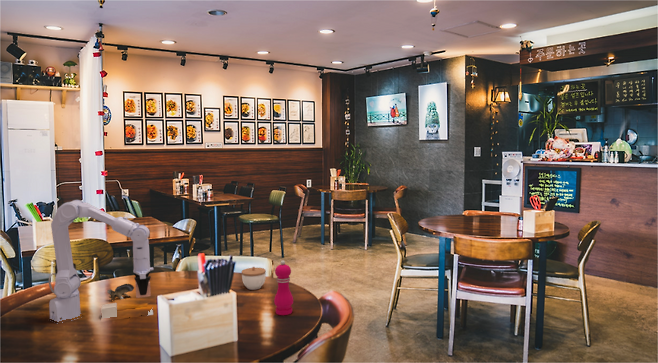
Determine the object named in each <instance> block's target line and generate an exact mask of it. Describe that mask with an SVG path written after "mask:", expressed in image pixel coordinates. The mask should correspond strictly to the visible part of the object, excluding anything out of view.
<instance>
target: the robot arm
mask: <svg viewBox="0 0 658 363" xmlns="http://www.w3.org/2000/svg"><path fill="white" fill-rule="evenodd" d="M78 218H79V219H81V218H82V219H84V218H92V219H95V220H97V221H99V222H101V223H104V224H106V225H109V226H110V227H111V229H112V231H114V232H116V233H118V234H121V235H123V236H125V237H127V238H130V240H131V241H132V254H133V257H132V259H133V260H132V262H133V270H132V271H133V272H132V273H134V274H133V276H134V281H136V283H137V285H138V288H139V292H140V295H146V294H147V288H148V283H149V280H150V281H151V278H152V276H150V273H151V271H154V267H153V266H152V267H151V262H150V260H151V259H150V245H149V244H150V243H149V242H150V241H149V237H150V234H151V233H150V229H149V227H147V226H146V225H145V224H140V223H138V222H134V221H132V220H129V219H128V217H127V216H117V217H115V216H113V215H111V214H110V213H107V212H105V211H103V210H102V209H100V208H97V207H95V206H94V205H92V204H90V203H88V202H85V201H82V200H80V199H73V200H72V201H67V202H64V203H62V204H61V205H60V206H59V207H57V209H56V213H55V214H54V217H53V218H52V221H51V223H50V227H51V234H52V241H53V249H54V253H55V254H54V255H55V261H56V266H57V270H58V272H57V275H56V277H55V278H54V281H56V284H54V287H53V291H54V292H55V294H56V295H57V297H56V295H55V294H54V295H55V298H51V299H50V300H49V304H48V305H49V306H48V308H49V319H52V320H54V321H57V322H59V321H62V320H66V319H72V318H75V317H78V316H80V314H81V300H80V298H81V297H80V291H79V288H80V287H81V285H82V284H81V283H82V281H81V278H80V276H79V275H78V272H77V269H76V270H75V269H74V266H73V263H74V260H73V254H72V246H71V245H72V244H71V238H70V232H69V226H70V225H71V224H72V223H73V222H74V221H75V220H76V219H78ZM136 283H135V284H136ZM60 318H61V319H60Z"/></svg>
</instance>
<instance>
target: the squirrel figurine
mask: <svg viewBox="0 0 658 363" xmlns="http://www.w3.org/2000/svg"><path fill="white" fill-rule="evenodd" d="M134 289H135V286H134V285H133V284H131V283H124V284H121V285H118V286H116V288H115V289H114V290H113V289H108V290H107V294H108V295H109V296H108V299H109V298H110V299H111V300H113V301H114V300H115V299H116V298H118V299H120V300H124V297H129V295H128V294H127V293H130V292H133V291H134ZM123 296H124V297H123ZM111 300H110V301H111Z"/></svg>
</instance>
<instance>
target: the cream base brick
mask: <svg viewBox="0 0 658 363" xmlns="http://www.w3.org/2000/svg"><path fill="white" fill-rule="evenodd" d="M100 310H101V311H100V312H101V313H102V319H103V318H110V317H117V310H118V303H117V302H112V303H105V304H101V308H100Z"/></svg>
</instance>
